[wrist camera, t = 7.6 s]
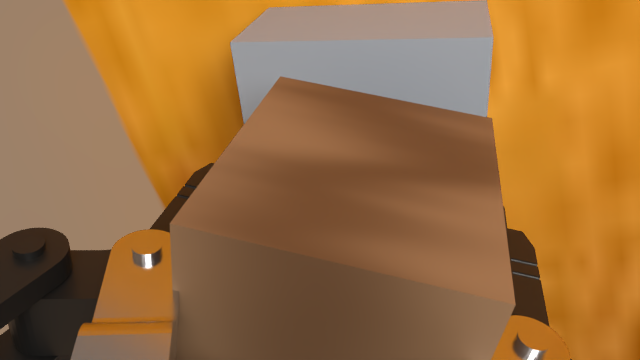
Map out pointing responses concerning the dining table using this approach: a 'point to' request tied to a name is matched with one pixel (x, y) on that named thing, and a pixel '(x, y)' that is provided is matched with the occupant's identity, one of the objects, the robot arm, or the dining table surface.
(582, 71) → the dining table surface
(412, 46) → the base block
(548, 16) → the dining table surface
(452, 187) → the walnut block
